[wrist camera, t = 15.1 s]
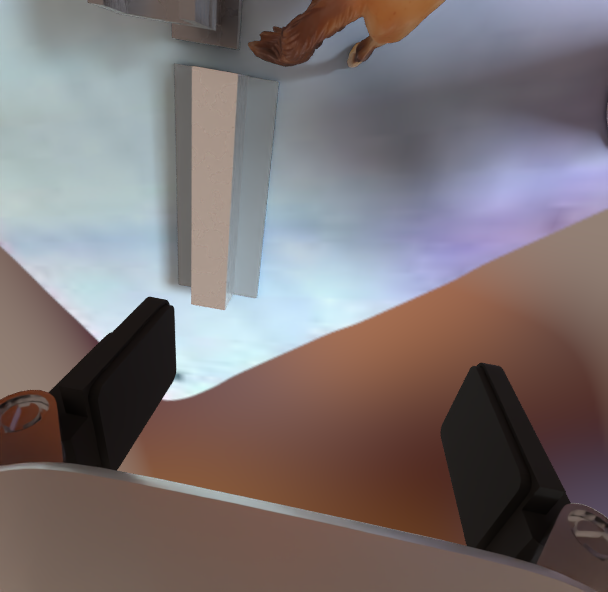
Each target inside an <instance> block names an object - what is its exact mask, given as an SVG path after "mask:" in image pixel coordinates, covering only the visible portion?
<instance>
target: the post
mask: <svg viewBox="0 0 608 592" xmlns="http://www.w3.org/2000/svg"><path fill="white" fill-rule="evenodd" d="M87 1H88V3H90V4H93V5H96V6H99V7H102V8H105V9H108V10H111V11H113V12H116V13H118V14H123V15H129V16H134V17H140V18H146V19H152V20H157V21H163V22H169V23H172V38H175V39H179V40H185V41H191V42H196V43H202V44H208V45H213V46H219V47H225V48H231V49H236V50H239V48H240V30H241V11H242V0H87Z"/></svg>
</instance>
